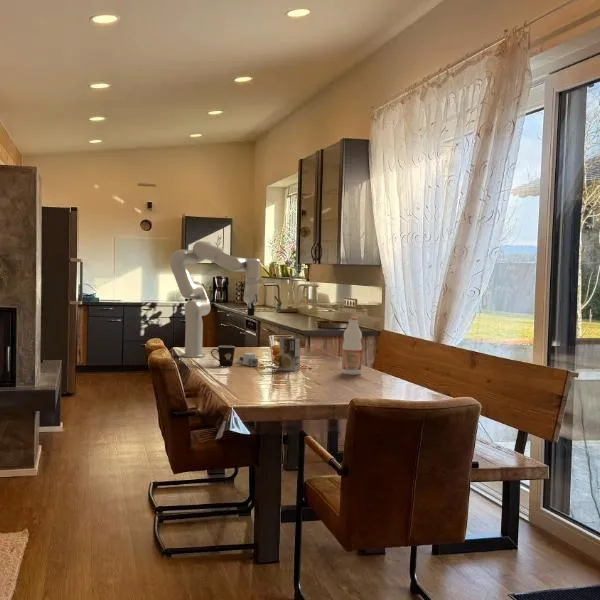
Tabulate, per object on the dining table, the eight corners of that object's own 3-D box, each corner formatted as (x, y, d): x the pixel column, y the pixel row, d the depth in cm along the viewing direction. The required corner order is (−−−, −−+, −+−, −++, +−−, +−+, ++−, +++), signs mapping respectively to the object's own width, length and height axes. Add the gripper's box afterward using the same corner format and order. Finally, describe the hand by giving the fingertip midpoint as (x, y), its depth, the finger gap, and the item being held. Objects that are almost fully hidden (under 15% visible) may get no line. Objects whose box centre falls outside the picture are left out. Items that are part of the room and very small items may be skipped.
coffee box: (300, 370, 363) (301, 338, 363) (294, 371, 357) (295, 339, 357) (283, 368, 367) (284, 336, 366) (278, 369, 361) (279, 337, 361)
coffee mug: (236, 365, 372) (236, 346, 371) (232, 367, 363) (233, 347, 363) (213, 364, 373) (214, 345, 373) (210, 366, 364) (210, 346, 364)
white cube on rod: (243, 364, 375) (243, 353, 375) (250, 363, 377) (251, 353, 377) (246, 365, 371) (247, 354, 371) (254, 365, 374) (254, 354, 373)
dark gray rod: (237, 361, 382) (238, 355, 382) (243, 361, 384) (243, 355, 383) (251, 365, 368) (251, 359, 368) (256, 365, 370) (257, 359, 370)
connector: (248, 366, 370) (248, 358, 370) (255, 365, 372) (255, 358, 372) (250, 366, 368) (250, 359, 368) (257, 366, 370) (257, 358, 370)
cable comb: (235, 362, 381) (235, 356, 381) (245, 362, 384) (246, 356, 384) (236, 363, 380) (236, 356, 380) (246, 362, 383) (247, 356, 383)
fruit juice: (337, 372, 359) (340, 316, 357) (353, 371, 364) (355, 316, 363) (349, 375, 351) (351, 317, 350) (364, 374, 356) (366, 317, 355)
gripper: (240, 280, 392) (238, 314, 393) (251, 282, 379) (250, 316, 380) (253, 281, 396) (251, 314, 397) (264, 282, 383) (263, 317, 384)
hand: (250, 315), depth 388 cm, fingers closed
